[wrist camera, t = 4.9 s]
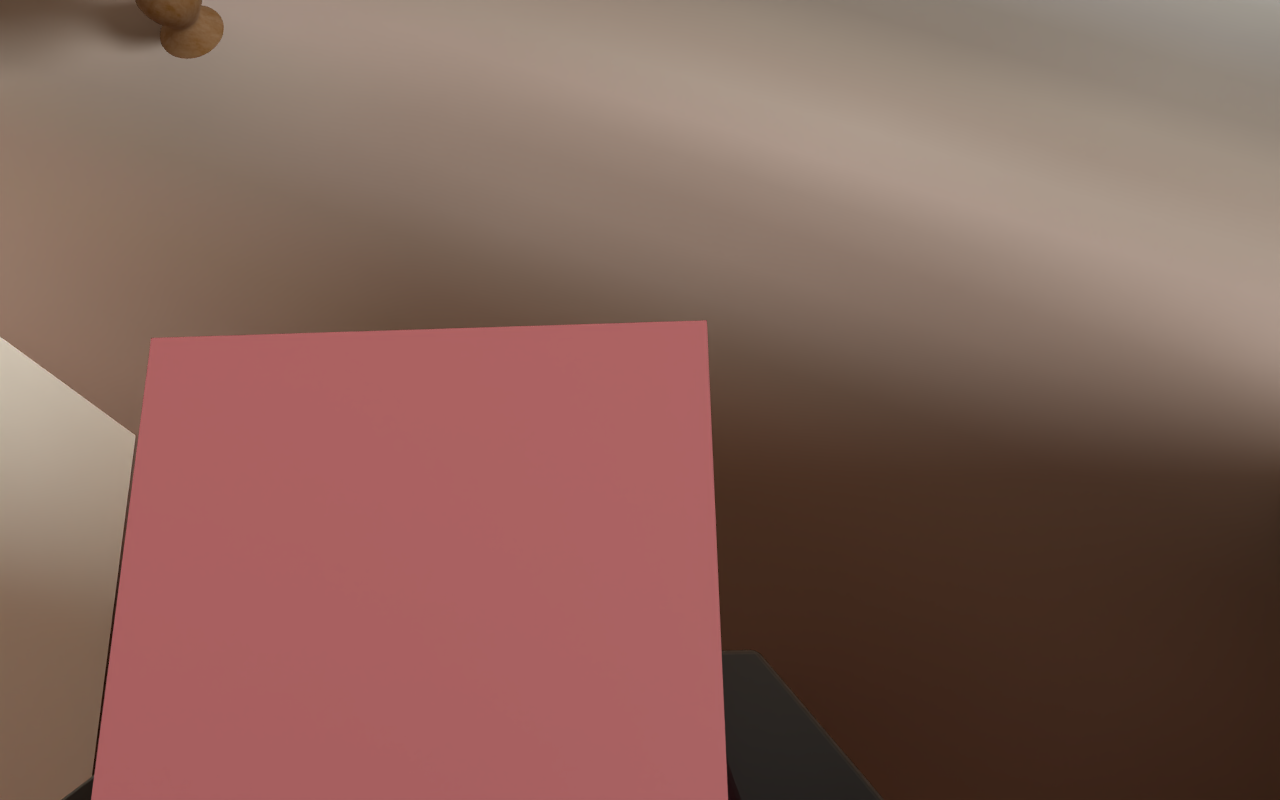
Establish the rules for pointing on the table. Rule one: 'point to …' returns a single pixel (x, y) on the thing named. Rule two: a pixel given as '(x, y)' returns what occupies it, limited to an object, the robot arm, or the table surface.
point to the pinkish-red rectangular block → (421, 569)
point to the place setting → (184, 26)
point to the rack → (55, 575)
